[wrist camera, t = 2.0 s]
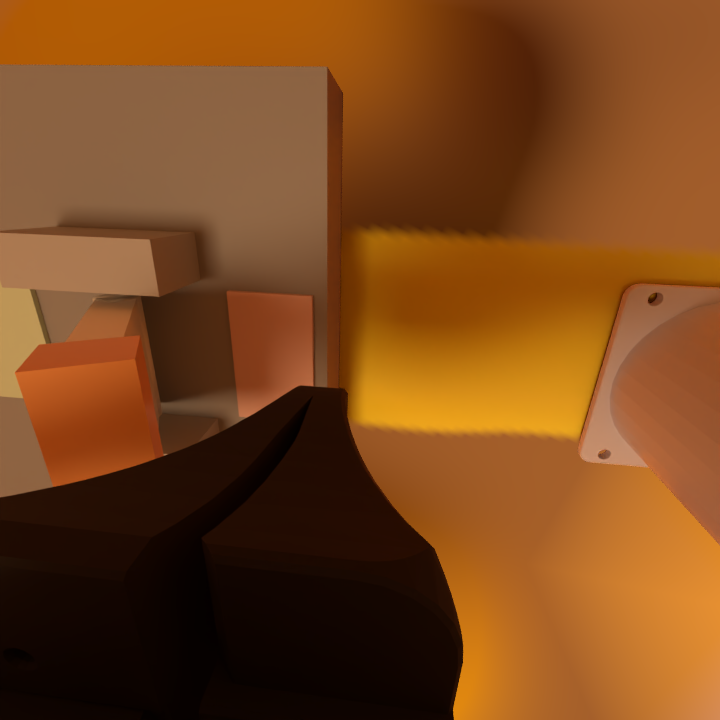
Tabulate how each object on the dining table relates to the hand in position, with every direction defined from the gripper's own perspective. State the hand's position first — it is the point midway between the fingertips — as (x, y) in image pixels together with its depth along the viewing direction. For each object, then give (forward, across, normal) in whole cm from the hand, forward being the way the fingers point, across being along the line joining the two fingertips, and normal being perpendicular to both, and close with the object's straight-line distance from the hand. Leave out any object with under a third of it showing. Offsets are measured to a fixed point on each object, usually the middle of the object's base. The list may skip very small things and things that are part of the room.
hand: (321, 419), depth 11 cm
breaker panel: (+7, +10, 0) cm, 12 cm away
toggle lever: (+3, +8, 0) cm, 8 cm away
